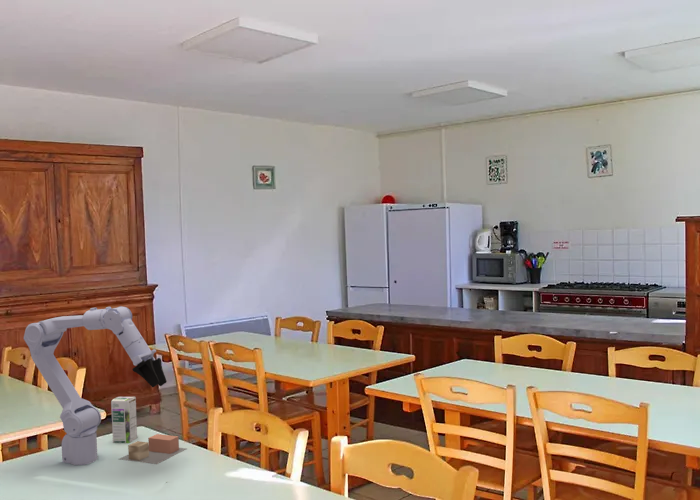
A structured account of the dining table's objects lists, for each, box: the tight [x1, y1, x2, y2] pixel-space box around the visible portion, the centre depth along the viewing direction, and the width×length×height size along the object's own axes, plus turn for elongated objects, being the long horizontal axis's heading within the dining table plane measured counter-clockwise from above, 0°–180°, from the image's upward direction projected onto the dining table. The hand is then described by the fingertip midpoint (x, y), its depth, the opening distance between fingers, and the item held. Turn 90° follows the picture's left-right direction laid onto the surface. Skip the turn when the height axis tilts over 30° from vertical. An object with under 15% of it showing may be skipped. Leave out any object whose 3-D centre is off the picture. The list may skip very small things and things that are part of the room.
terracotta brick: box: [147, 433, 180, 454], centre depth 198 cm, size 8×4×4 cm, turn 67°
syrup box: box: [110, 396, 138, 444], centre depth 210 cm, size 6×6×14 cm
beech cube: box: [127, 440, 149, 460], centre depth 193 cm, size 4×4×4 cm
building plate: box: [119, 447, 187, 465], centre depth 196 cm, size 14×14×1 cm
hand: (160, 384), depth 184 cm, fingers open, 7 cm apart
